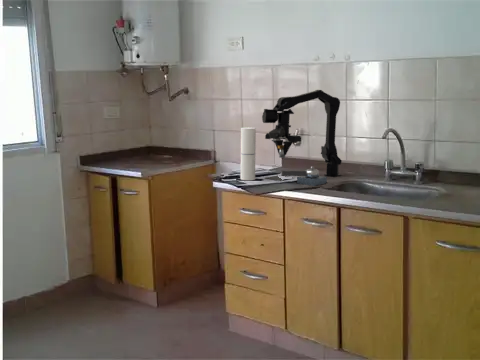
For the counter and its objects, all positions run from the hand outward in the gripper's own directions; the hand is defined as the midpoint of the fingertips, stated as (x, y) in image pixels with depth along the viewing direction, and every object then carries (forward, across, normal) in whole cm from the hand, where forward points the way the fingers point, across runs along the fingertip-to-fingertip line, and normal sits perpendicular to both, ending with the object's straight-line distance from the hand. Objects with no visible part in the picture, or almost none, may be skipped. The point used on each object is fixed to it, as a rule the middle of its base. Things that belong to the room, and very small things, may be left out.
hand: (282, 154), depth 284 cm
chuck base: (+11, +20, -2) cm, 23 cm away
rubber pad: (+12, +1, -3) cm, 12 cm away
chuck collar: (+8, +16, -6) cm, 19 cm away
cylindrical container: (+12, -9, -15) cm, 21 cm away
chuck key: (+1, 0, 0) cm, 1 cm away
